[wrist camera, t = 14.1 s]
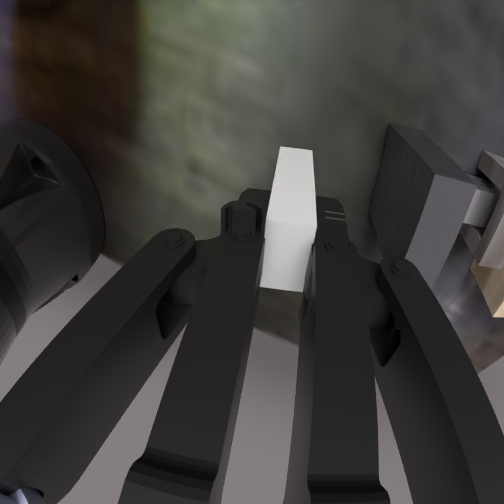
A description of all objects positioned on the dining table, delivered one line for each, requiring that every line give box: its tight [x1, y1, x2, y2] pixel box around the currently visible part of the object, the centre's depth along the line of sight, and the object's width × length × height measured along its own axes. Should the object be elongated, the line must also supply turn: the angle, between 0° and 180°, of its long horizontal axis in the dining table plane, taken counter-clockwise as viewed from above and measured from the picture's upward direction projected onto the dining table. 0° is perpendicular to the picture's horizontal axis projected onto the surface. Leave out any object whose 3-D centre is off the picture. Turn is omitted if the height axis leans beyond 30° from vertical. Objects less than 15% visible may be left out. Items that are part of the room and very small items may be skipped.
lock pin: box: [369, 124, 501, 289], centre depth 14 cm, size 8×6×7 cm, turn 87°
